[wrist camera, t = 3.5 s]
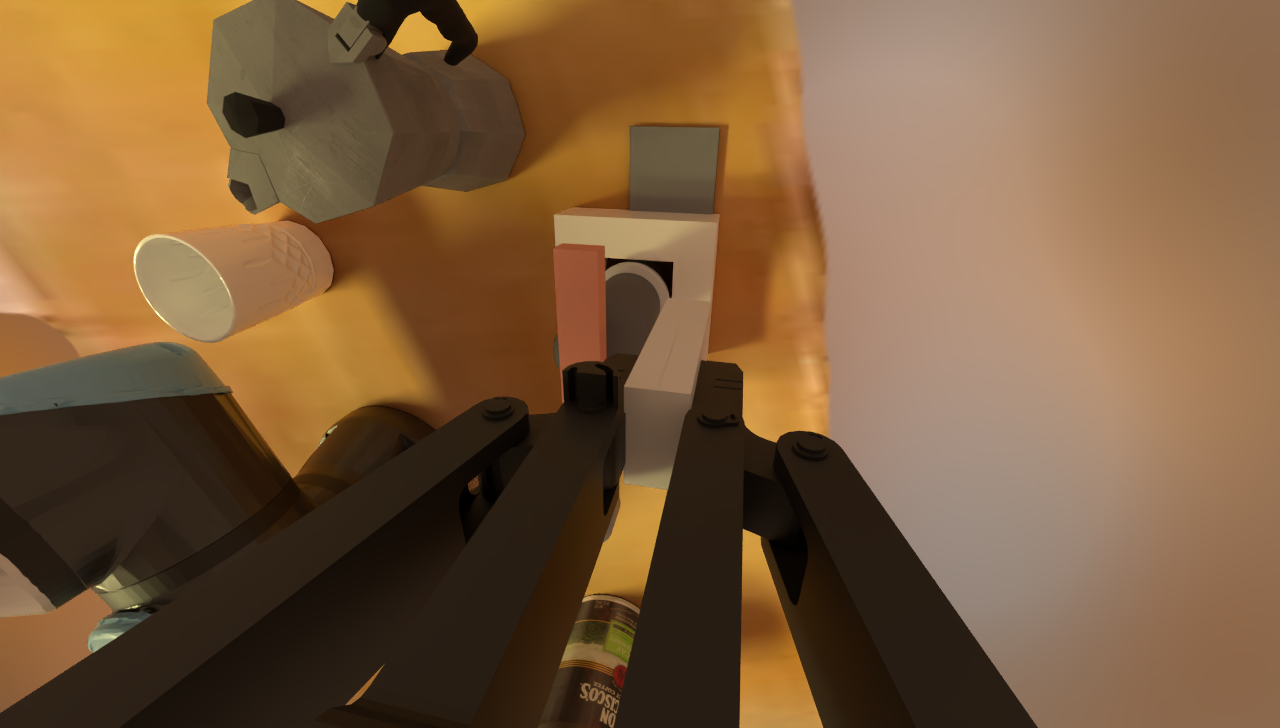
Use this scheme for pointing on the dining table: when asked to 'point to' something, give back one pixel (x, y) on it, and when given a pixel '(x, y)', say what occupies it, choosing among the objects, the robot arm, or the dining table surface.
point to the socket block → (650, 242)
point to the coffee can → (593, 665)
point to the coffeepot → (355, 106)
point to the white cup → (230, 275)
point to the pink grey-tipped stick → (581, 310)
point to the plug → (631, 305)
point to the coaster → (673, 169)
